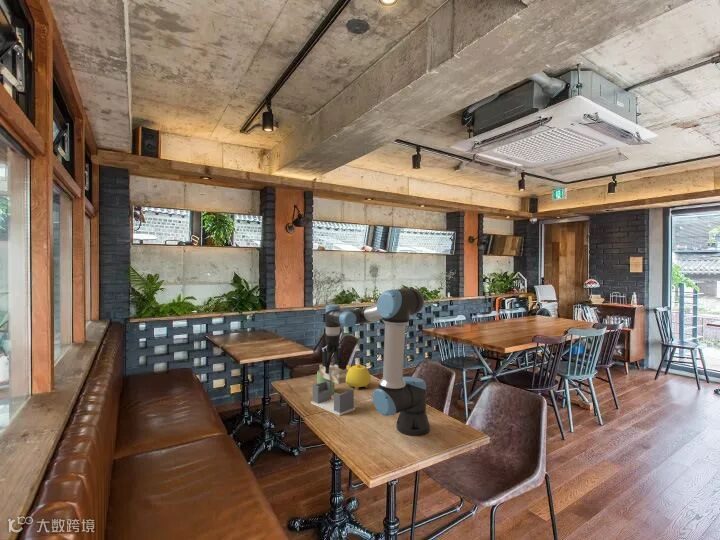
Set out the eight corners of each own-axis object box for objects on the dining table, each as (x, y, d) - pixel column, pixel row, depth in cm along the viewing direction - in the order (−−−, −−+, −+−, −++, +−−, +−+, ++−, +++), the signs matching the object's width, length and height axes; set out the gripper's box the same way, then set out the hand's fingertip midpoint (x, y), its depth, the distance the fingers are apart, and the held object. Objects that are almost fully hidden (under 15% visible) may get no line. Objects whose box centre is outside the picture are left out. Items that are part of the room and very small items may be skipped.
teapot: (337, 383, 238) (337, 361, 238) (357, 379, 247) (357, 358, 246) (354, 392, 221) (354, 369, 221) (375, 387, 230) (376, 365, 230)
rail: (345, 382, 195) (345, 370, 194) (338, 384, 192) (338, 372, 191) (326, 374, 207) (326, 363, 207) (319, 375, 204) (319, 364, 204)
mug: (328, 396, 215) (328, 375, 215) (313, 393, 220) (313, 372, 220) (340, 389, 226) (340, 369, 225) (326, 386, 231) (326, 367, 231)
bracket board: (355, 409, 195) (355, 390, 195) (339, 415, 187) (339, 395, 187) (326, 398, 212) (326, 380, 211) (310, 403, 204) (310, 385, 204)
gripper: (340, 331, 208) (340, 373, 208) (314, 335, 195) (314, 380, 196) (349, 333, 202) (349, 376, 203) (324, 337, 190) (323, 383, 190)
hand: (332, 378), depth 199 cm, fingers closed on rail, 5 cm apart
